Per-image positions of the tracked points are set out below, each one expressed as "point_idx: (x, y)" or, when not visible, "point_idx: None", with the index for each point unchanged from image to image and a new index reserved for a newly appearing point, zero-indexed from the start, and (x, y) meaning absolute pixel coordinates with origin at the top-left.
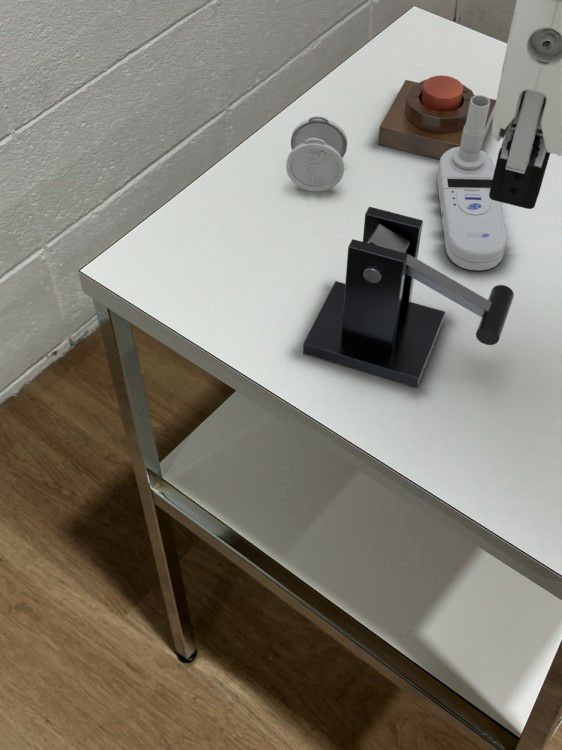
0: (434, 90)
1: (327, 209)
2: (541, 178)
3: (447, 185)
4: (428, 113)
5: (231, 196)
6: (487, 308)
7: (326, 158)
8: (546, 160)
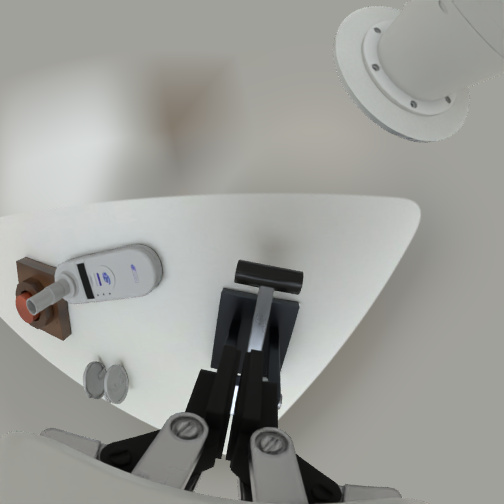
0: (28, 316)
1: (137, 366)
2: (260, 393)
3: (93, 299)
4: (43, 316)
5: (151, 412)
6: (271, 289)
7: (110, 383)
8: (248, 420)
